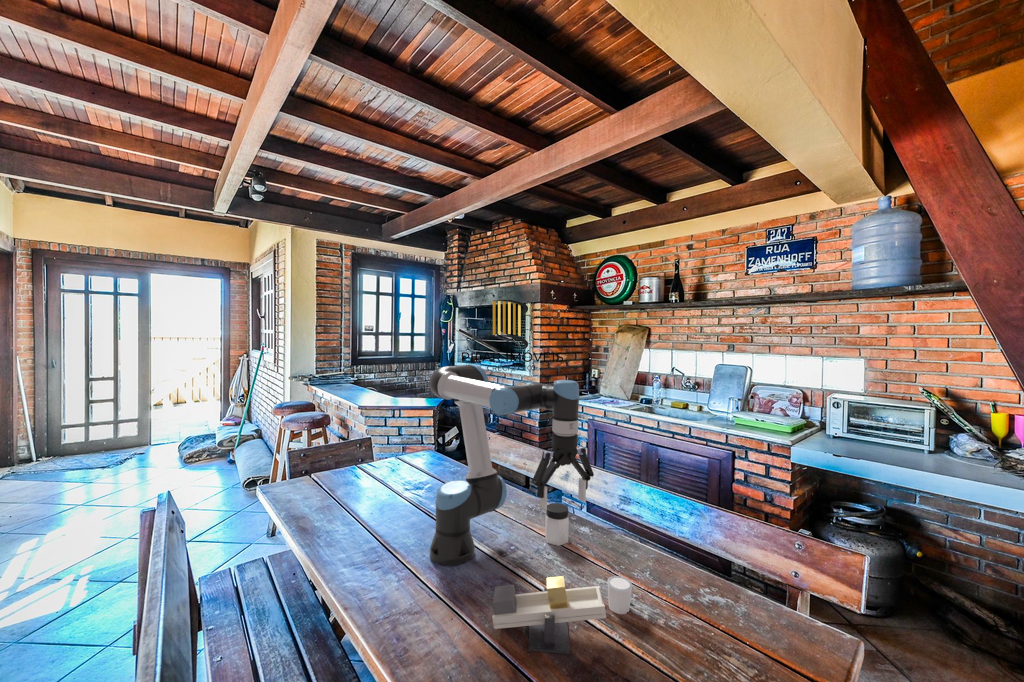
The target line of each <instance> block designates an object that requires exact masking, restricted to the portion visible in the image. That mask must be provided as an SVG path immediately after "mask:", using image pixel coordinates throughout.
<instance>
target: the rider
mask: <svg viewBox="0 0 1024 682" xmlns="http://www.w3.org/2000/svg"><path fill="white" fill-rule="evenodd" d="M546 588H547V592H548V599H549V606H550V609H559V608H568V602H567V595H566V589H567V588H566V582H565V576H564V575H561V576H550V577H546Z"/></svg>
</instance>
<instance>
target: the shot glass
mask: <svg viewBox="0 0 1024 682" xmlns="http://www.w3.org/2000/svg"><path fill="white" fill-rule="evenodd" d="M606 583H607V600H608V601H607V602H608V608H609V610H610V611H612V612H613V613H614V614H616V615H617V614H618V615H625V614H627V612H628V613H629V611H630V609H631V608H630V607H631V601H632V600H631V599H632V592H633V583H632V582H631V581H630V579H628V578H626V577H624V576H621V575H612V576H610V577H608V578H607V581H606Z"/></svg>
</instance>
